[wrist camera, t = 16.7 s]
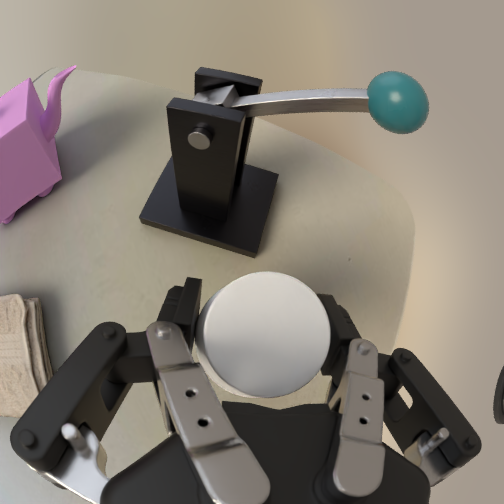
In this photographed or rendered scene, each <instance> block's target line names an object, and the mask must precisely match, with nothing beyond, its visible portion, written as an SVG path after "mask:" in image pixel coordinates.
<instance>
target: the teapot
mask: <svg viewBox="0 0 504 504" xmlns="http://www.w3.org/2000/svg"><path fill="white" fill-rule="evenodd" d="M75 68H76V65H75V66H72V67H69V68H67V69H65V70H63V71H62V72H60V73H59V74H57V75H56V76H55V77H54V78H53V79H52V81H51V83H50V85H49V88H48V104H47V108H46V110H45V111H44V108H43V106H42V104H41V102H40V100H39V97H38V95H37V93H36V90H35V88H34V85H33V83H32V81H31V78H28V79H27V80H25V81H24V82H22V83H20V84H19V85H17V86H16V87H14V88H13V89H11V90H10V91H8V92H7V93H6V94H4V95H3V96H1V97H0V223H1V222H2V221H3V223H5V224H7V223H9V222H10V221H11V220H12V219H13V217H14V215H15V212H16V210H18V209H19V208H20V207H22V206H23V205H24V204H26V203H27V202H28V201H30V200H31V199H33V198H34V197H35V196H37V195H38V196H40V197H44V196H46V195H47V194H49V193H50V192H51V190H52V188H53V186H54V184H55V183H56V182H58V181H60V180H61V179H62V176H61V171H60V166H59V161H58V156H57V150H56V144H55V138H54V136H55V134H56V132H57V130H58V128H59V125H60V121H61V90H62V86H63V83H64V81H65V80H66V78H67V77H68V76H69V74H70V73H71V72H72V71H73V70H74V69H75Z"/></svg>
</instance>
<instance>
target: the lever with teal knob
mask: <svg viewBox="0 0 504 504" xmlns="http://www.w3.org/2000/svg"><path fill="white" fill-rule="evenodd" d="M192 101H198V102H203V103H208V104H213V105H217V106H222V107H226V108H230V109H234V110H239V111H242V112H246V116H245V118H246V117H255V116H264V115H274V114H289V113H307V112H368V113H370V114H371V116H372V117H373V119H374V120H375V121H376V122H377V123H378V124H379V125H380V126H381V127H383V128H384V129H386V130H388V131H390V132H393V133H397V134H408V133H412V132H414V131H416V130H418V129H419V128H420V127H421V126H422V125H423V124H424V123H425V121H426V119H427V116H428V112H429V102H428V98H427V95H426V93H425V91H424V89H423V88H422V86H421V85H420V84H419V83H418V82H417V81H416V80H415V79H413V78H412V77H411V76H409V75H407V74H405V73H402V72H397V71H388V72H384V73H381V74H379V75H377V76H376V77H375V78H374V79H373V80H372V81H371V82H370V84H369V86H368V88H367V89H351V88H350V89H349V88H348V89H347V88H346V89H345V88H343V89H342V88H341V89H312V90H311V89H310V90H296V91H284V92H274V93H265V94H258V95H251V96H244V97H239V95H238V93H237V90H236V88H235V86H234V85H231V86H226V87H221V88H217V89H212V90H208V91H204V92H200V93H197V94H196V96H195V97H194V98H193V100H192Z"/></svg>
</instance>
